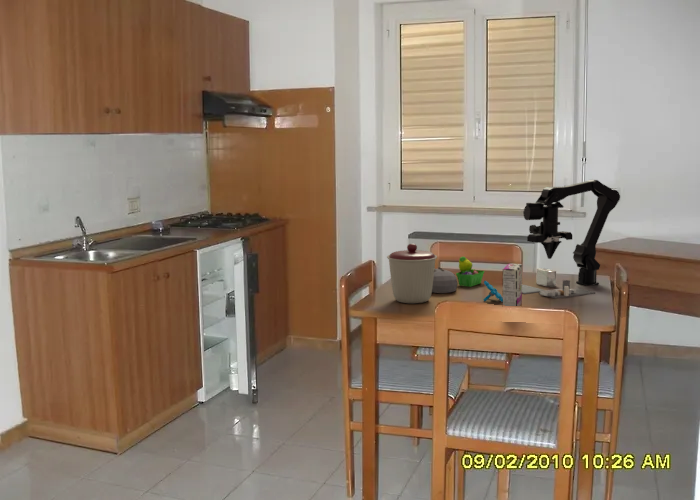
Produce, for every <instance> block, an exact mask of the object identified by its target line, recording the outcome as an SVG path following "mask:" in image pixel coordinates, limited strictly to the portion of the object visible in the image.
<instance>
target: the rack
mask: <svg viewBox="0 0 700 500" xmlns="http://www.w3.org/2000/svg"><path fill="white" fill-rule="evenodd" d="M570 283H571V280H570V279H563V280H562V287H561V288H555V289H547V290H546V289H544V290H545V291H540V292H539V293H540V294H541V295H540V294H539V295H540V296H543V295H544V297H547V296H555V295H557V296H560V295H564V286H569V294H571V293H573V294H576V290H574V289H575V288H571V287H570V286H571V284H570Z"/></svg>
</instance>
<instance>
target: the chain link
mask: <svg viewBox="0 0 700 500" xmlns="http://www.w3.org/2000/svg"><path fill="white" fill-rule="evenodd" d="M535 274H536V277H535V279H536V280H535V281H536V282H535V283H536V285H538V286H543V287H548V288H555V287H556V286H557V270H553V269H548V268H545V267H544V268H542V267H541V268H540V267H539V268H536V273H535Z"/></svg>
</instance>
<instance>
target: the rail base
mask: <svg viewBox="0 0 700 500" xmlns="http://www.w3.org/2000/svg"><path fill="white" fill-rule="evenodd" d="M573 289H574V290H576V294H573V293H571V294H569V286H564V295H560V296H557V295H555V296H546V297H548V298H551V299H562V298H570V297H571V298H572V297H579V296H586V295H594V294H596V292H595V291H591V290H587V289H583V288H577V287H576V288H573ZM538 295H540V296H544V295H541V294H540V292H538ZM544 297H545V296H544Z"/></svg>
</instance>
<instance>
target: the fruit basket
mask: <svg viewBox="0 0 700 500" xmlns="http://www.w3.org/2000/svg"><path fill="white" fill-rule="evenodd" d="M458 269H459V271H458V272H456V273H455V276H456V278H457V283H458V285H459V286H461V287H470V288H471V287H474V286H476V285H480V284H482V280H483V276H484V274H485V270H481V269H479V270H478V269H474V268H473V263H472V261H470V260H469V259H468V258H467V257H465V256H460V257H459V259H458Z"/></svg>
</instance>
